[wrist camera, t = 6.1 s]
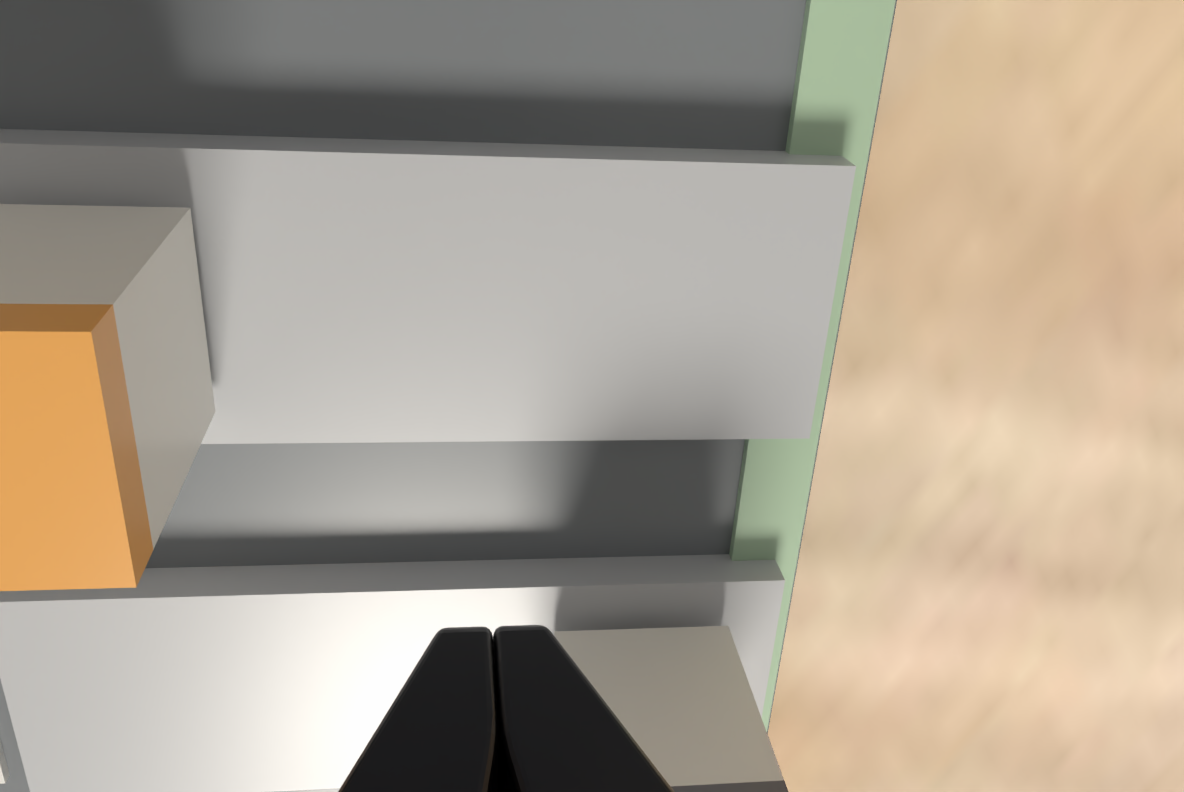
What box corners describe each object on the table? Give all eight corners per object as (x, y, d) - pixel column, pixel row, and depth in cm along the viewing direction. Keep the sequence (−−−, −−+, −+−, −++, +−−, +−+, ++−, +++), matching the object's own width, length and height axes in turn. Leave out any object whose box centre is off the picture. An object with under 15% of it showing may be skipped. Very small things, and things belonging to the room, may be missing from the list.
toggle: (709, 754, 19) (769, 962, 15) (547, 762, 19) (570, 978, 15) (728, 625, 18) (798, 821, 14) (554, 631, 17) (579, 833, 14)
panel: (742, 721, 22) (770, 806, 20) (-49, 756, 20) (-105, 856, 18) (943, -536, 13) (1034, -613, 11) (-494, -709, 11) (-716, -845, 9)
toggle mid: (215, 411, 15) (136, 587, 11) (-9, 413, 14) (-165, 595, 11) (190, 207, 13) (90, 331, 10) (-58, 202, 13) (-256, 330, 9)
